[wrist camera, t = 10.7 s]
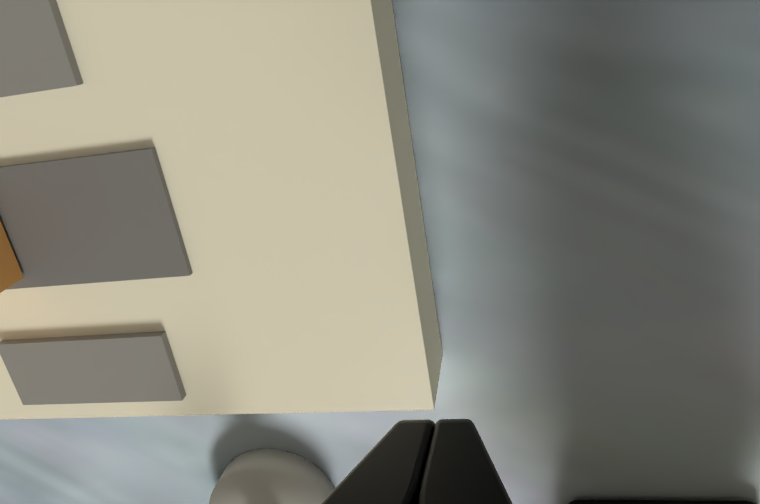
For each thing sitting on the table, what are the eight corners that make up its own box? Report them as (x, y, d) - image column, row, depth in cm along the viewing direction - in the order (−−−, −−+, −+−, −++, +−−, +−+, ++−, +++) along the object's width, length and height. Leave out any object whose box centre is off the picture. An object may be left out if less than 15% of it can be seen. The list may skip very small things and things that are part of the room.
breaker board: (376, -102, 17) (349, -115, 14) (442, 355, 22) (433, 416, 19) (-259, 27, 22) (-379, 38, 19) (-81, 376, 27) (-152, 427, 24)
